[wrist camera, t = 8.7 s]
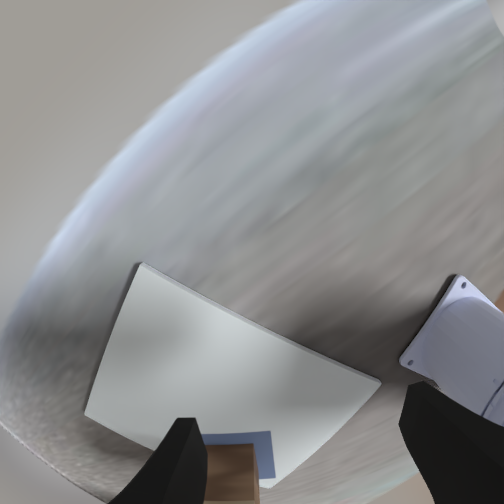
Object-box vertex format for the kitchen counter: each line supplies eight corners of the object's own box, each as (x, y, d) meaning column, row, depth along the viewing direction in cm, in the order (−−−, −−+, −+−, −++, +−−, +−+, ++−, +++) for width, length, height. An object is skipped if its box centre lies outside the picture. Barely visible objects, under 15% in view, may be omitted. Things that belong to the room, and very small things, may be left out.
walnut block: (253, 443, 21) (254, 501, 15) (258, 471, 22) (260, 523, 17) (198, 444, 21) (189, 501, 16) (209, 473, 23) (203, 523, 17)
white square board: (379, 379, 21) (381, 384, 20) (257, 492, 24) (258, 497, 24) (143, 262, 18) (139, 265, 18) (82, 423, 22) (80, 427, 21)
